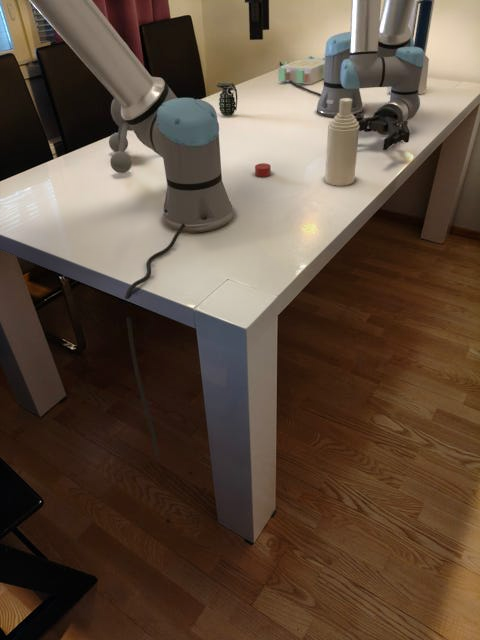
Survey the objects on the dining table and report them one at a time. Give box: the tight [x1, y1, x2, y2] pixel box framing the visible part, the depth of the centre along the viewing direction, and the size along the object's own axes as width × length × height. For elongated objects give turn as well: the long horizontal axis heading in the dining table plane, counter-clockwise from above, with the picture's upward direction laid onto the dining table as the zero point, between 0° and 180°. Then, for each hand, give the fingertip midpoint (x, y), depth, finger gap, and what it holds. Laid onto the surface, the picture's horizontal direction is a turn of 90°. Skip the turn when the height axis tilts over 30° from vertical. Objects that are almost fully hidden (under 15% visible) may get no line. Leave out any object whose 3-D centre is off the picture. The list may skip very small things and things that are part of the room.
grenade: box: [215, 82, 238, 117], centre depth 166 cm, size 7×6×10 cm
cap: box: [254, 162, 271, 178], centre depth 125 cm, size 4×4×2 cm
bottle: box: [324, 98, 360, 187], centre depth 115 cm, size 7×7×19 cm
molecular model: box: [108, 41, 134, 174], centre depth 130 cm, size 24×22×30 cm
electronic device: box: [386, 0, 435, 95], centre depth 172 cm, size 12×8×30 cm, turn 105°
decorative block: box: [277, 55, 325, 85], centre depth 206 cm, size 26×6×20 cm
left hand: (260, 34), depth 106 cm, fingers open, 13 cm apart
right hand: (359, 140), depth 123 cm, fingers open, 13 cm apart
